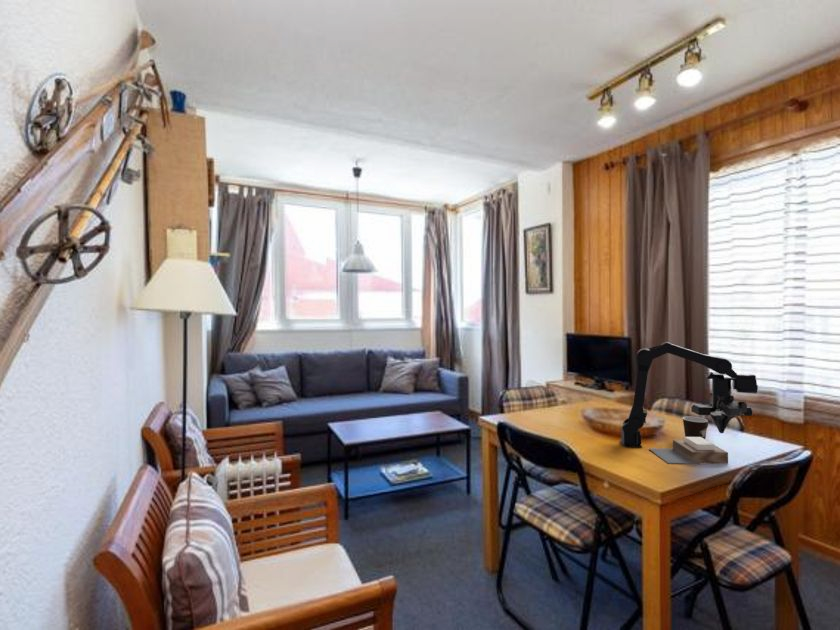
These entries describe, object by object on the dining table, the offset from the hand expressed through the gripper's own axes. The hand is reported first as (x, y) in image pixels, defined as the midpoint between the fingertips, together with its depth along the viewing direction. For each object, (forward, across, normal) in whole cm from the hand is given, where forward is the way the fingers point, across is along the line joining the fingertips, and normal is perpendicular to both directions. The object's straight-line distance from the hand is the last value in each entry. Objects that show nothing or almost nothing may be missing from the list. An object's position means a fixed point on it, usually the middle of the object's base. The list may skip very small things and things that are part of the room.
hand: (721, 432), depth 157 cm
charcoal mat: (+9, -17, 0) cm, 20 cm away
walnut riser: (+9, -8, 0) cm, 12 cm away
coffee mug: (+9, 0, +15) cm, 18 cm away
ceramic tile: (+5, -8, 0) cm, 9 cm away
